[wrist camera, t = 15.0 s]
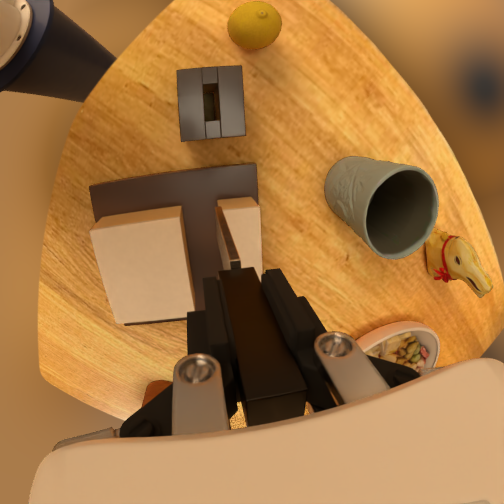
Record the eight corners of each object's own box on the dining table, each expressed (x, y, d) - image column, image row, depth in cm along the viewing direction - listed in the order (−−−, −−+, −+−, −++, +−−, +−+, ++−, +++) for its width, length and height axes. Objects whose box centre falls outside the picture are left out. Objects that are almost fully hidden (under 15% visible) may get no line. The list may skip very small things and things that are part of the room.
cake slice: (217, 199, 34) (220, 211, 29) (251, 196, 34) (260, 207, 30) (225, 289, 39) (230, 310, 34) (255, 285, 39) (263, 305, 35)
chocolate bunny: (437, 213, 42) (503, 248, 28) (443, 264, 47) (497, 303, 33) (409, 231, 42) (475, 273, 29) (417, 282, 47) (471, 328, 33)
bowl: (278, 411, 54) (288, 442, 47) (365, 295, 45) (390, 322, 38) (372, 415, 63) (385, 436, 56) (446, 327, 55) (466, 346, 48)
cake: (101, 217, 32) (88, 230, 27) (181, 205, 33) (179, 217, 29) (123, 302, 37) (116, 324, 32) (194, 294, 38) (195, 316, 34)
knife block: (180, 82, 28) (176, 70, 22) (232, 77, 29) (242, 65, 23) (184, 139, 31) (181, 141, 25) (236, 135, 32) (246, 135, 26)
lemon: (222, 18, 26) (230, -10, 19) (268, 17, 27) (288, -8, 19) (225, 57, 28) (234, 37, 21) (272, 56, 29) (294, 37, 22)
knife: (206, 207, 21) (244, 391, 6) (228, 205, 21) (310, 378, 6) (209, 241, 22) (249, 442, 7) (231, 239, 22) (301, 430, 8)
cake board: (91, 184, 31) (88, 186, 30) (254, 162, 34) (256, 163, 33) (125, 322, 39) (124, 326, 38) (261, 305, 42) (263, 309, 41)
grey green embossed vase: (390, 167, 37) (449, 186, 26) (366, 232, 40) (417, 268, 30) (331, 140, 34) (386, 149, 23) (306, 213, 38) (350, 249, 27)
